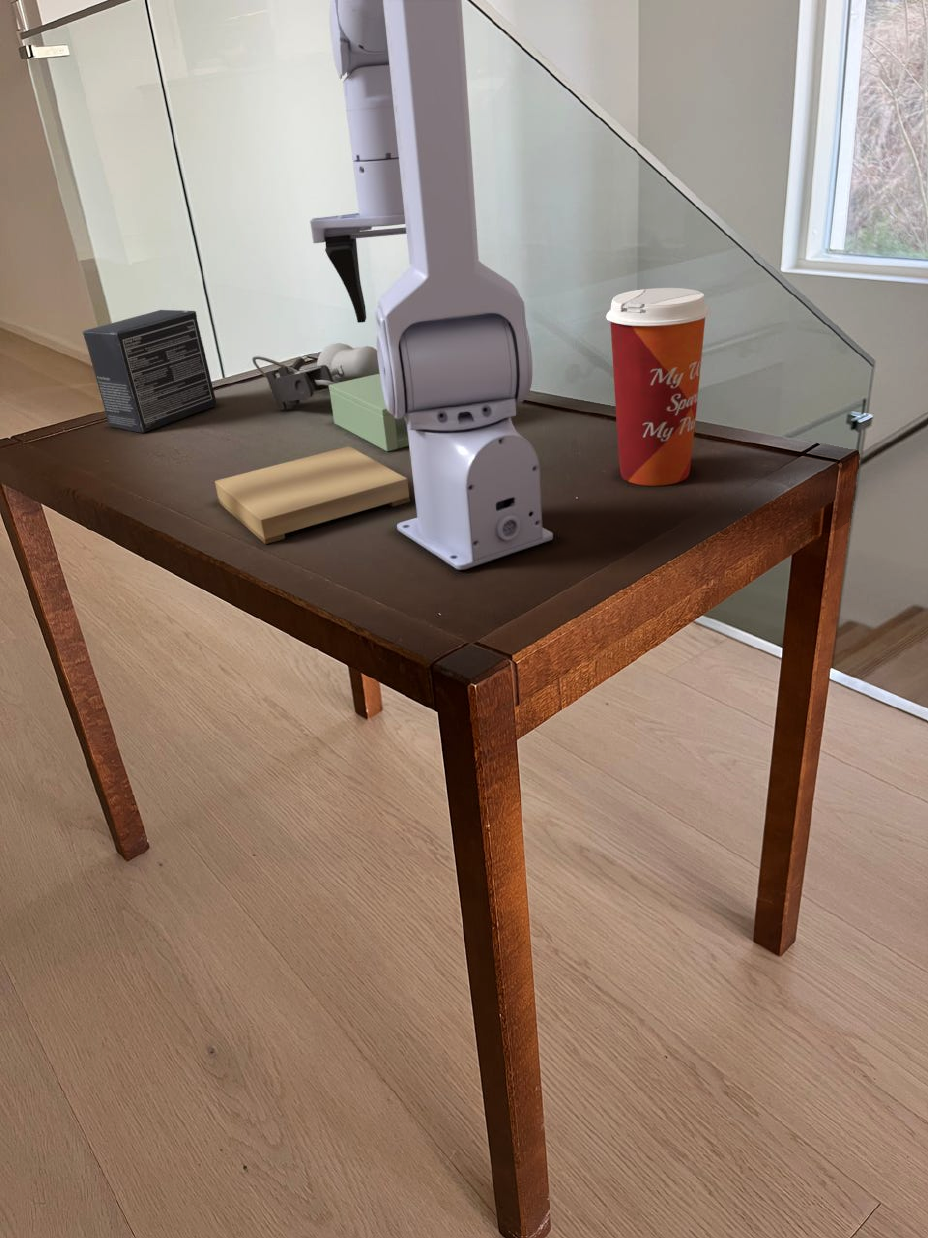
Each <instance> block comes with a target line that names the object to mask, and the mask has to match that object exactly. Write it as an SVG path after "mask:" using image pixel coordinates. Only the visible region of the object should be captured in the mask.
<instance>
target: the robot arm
mask: <svg viewBox="0 0 928 1238" xmlns="http://www.w3.org/2000/svg"><path fill="white" fill-rule="evenodd" d="M462 2H463V1H462V0H330V1H329V15H328V17H329V19H328V21H329V22H328V23H329V33H330V43H331V49H332V55H333V61H334V66H335V69H336V72H337V75H338V77H339V79H340V80H342V79H343V77H344V76H345V75H346V77H345V78H344V80H343V81H342V85H343V86H342V87H343V94H344V102H345V110H346V118H347V127H348V134H349V143H350V149H351V150H350V151H351V158H352V159H351V160H352V167H353V176H354V183H355V190H356V199H357V200H356V201H357V207H358V212H355V213H348V214H340V215H332V216H322V217H313V218H311V220H310V221H309V224H310V230H311V237H312V243H313V244H321V243H322V244H323V243H325V249H324V252H325V253H326V256H327V257H328V259H329V261H330V263H331V264H332V266H333V267H334V269H335V271H336V272H337V274H338V275H339V277H340V279H341V281H342V284H343V285H344V288H345V289H346V291H347V294H348V296H349V299H350V301H351V304H352V307H353V310H354V314H355V317H356V322H357V323H358V324H359V323H360V324H361V323H366V320H367V310H366V302H365V298H364V292H363V288H362V284H361V283H362V282H361V276H360V265H359V255H358V244H357V239H363V238H365V239H366V238H375V237H386V236H387V237H388V236H398V235H406V241H407V243H406V244H407V251H408V262H409V263H408V264H409V266H408V267H407V269H406V270H405V271H404V272H403V273H402V274H401V275H400V276H399V277H398V278H397V279H396V280H395V281H394V282H393V283H392V284H391V285H390V286H389V288H388V289H387V290H385V291H384V293H383V294H382V295H381V296H380V297H379V298H378V300H377V307H376V308H375V310H374V315H375V323H376V334H375V336H376V337H375V341H376V342H375V343H376V350H377V356H378V365H379V372H380V373H379V374H380V379H381V385H382V391H383V396H384V401H385V405H386V408H387V411H388V412H389V413H390V414H392V415H394V417H395V418H396V419H402V418H404V419H405V421H406V423H407V431H408V440H409V446H408V447H409V448H408V449H409V456H410V465H411V474H412V483H413V492H414V500H415V509H416V517H413V518H411V519H408V520H404V521H401V522H399V523H397V524H396V530H397V531H398V532H400V533H402V534H403V535H404V536H405V537H407V538H409V539H411V540H412V541H413V542H415V543H416V544H418V545H420V546H421V547H422V548H424V549H426V550H427V551H428V552H430V553H431V554H433V555H434V556H436V557H438V558H439V559H440V560H442V561H444V562H445V563H446V564H448V565H450V566H451V567H453V568H454V569H456V570H458V571H465V570H468V569H471V568H474V567H477V566H479V565H483V564H486V563H488V562H491V561H494V560H497V559H500V558H503V557H506V556H509V555H512V554H515V553H518V552H521V551H523V550H527V549H529V548H532V547H535V546H539V545H542V544H545V543H548V542H550V541H552V540H553V539H554V533H553V532H552V531H550V530H548V529H547V528H544V527H543V511H542V510H543V509H542V490H541V489H542V488H541V468H540V460H539V456H538V454H537V452H536V449H535V448H534V447H533V445H532V444H531V443H530V442H529V441H528V440H527V439H526V438H524V437H523V436H522V435H521V434H520V433H519V432H518V431H517V430H516V427H515V426H514V424H513V420H512V417H516V416H517V406H516V405H517V403H518V404H521V403H523V402H524V400H526V397H527V395H528V394H529V393H530V391H531V388H532V385H533V357H532V356H533V354H532V346H531V341H530V335H529V331H528V328H527V327H528V326H527V319H526V309H525V308H526V307H525V301H524V299H523V298H522V296H521V294H520V292H519V290H518V288H517V287H516V286H515V285H514V284H513V283H512V282H511V281H510V280H509V279H507V278H505V277H504V276H502V275H501V274H499V273H498V272H496V271H494V270H493V269H491V268H490V267H488V266H486V264H484V263H482V262H481V261H480V259H479V244H478V230H477V228H478V227H477V215H476V213H477V212H476V200H475V184H474V167H473V155H472V154H473V153H472V138H471V124H470V110H469V109H470V107H469V95H468V78H467V64H466V63H467V62H466V47H465V31H464V15H463V3H462ZM400 225H405V227H395V228H394V227H393V228H384V229H373V228H375V227H389V226H400ZM372 229H373V230H372Z"/></svg>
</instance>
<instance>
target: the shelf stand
mask: <svg viewBox="0 0 928 1238" xmlns="http://www.w3.org/2000/svg"><path fill="white" fill-rule="evenodd" d="M328 391H329V396H330V404H331V410H332V417H333V424H334V425H337V426H339V427H340V428H342V429H344V430H346V431H347V432H350V433H352V434H353V435H356V436H357V437H359V438H361V439H363V440H364V441H366V442H369V443H370V444H372V445H374V446H376V447H377V448H380V449H382V450H383V451H385V452H391V451H395V450H398V449H402V448H407V447H409V440H408V431H407V423H406V421H405V419H404V418H402V419H396V418H395V417H394V415H392V414H390V413H389V412H388V411H387V408H386V405H385V401H384V396H383V391H382V385H381V379H380V373H379V374H375V375H371V376H367V377H362V378H358V379H353V380H349V381H345V382H340V383H336V384H331V385H329V390H328Z"/></svg>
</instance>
